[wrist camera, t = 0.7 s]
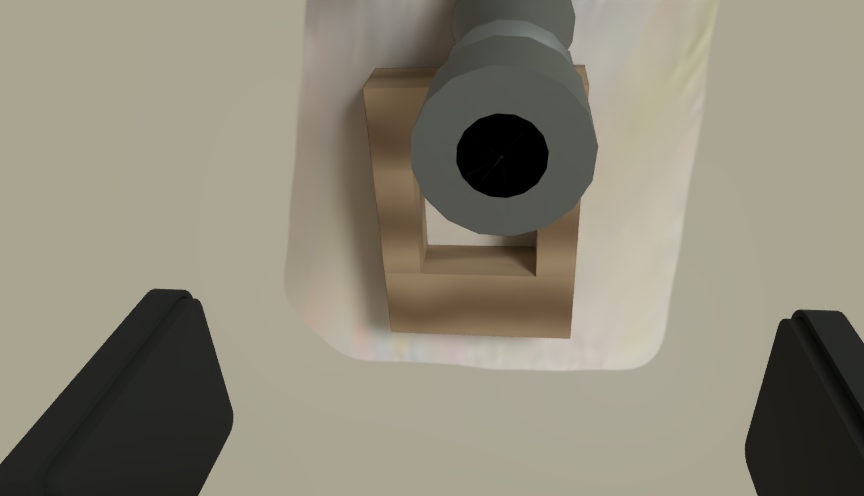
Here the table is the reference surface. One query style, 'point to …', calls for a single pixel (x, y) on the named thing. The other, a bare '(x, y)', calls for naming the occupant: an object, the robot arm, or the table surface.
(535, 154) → the candle holder
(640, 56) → the table surface
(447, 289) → the holder board
